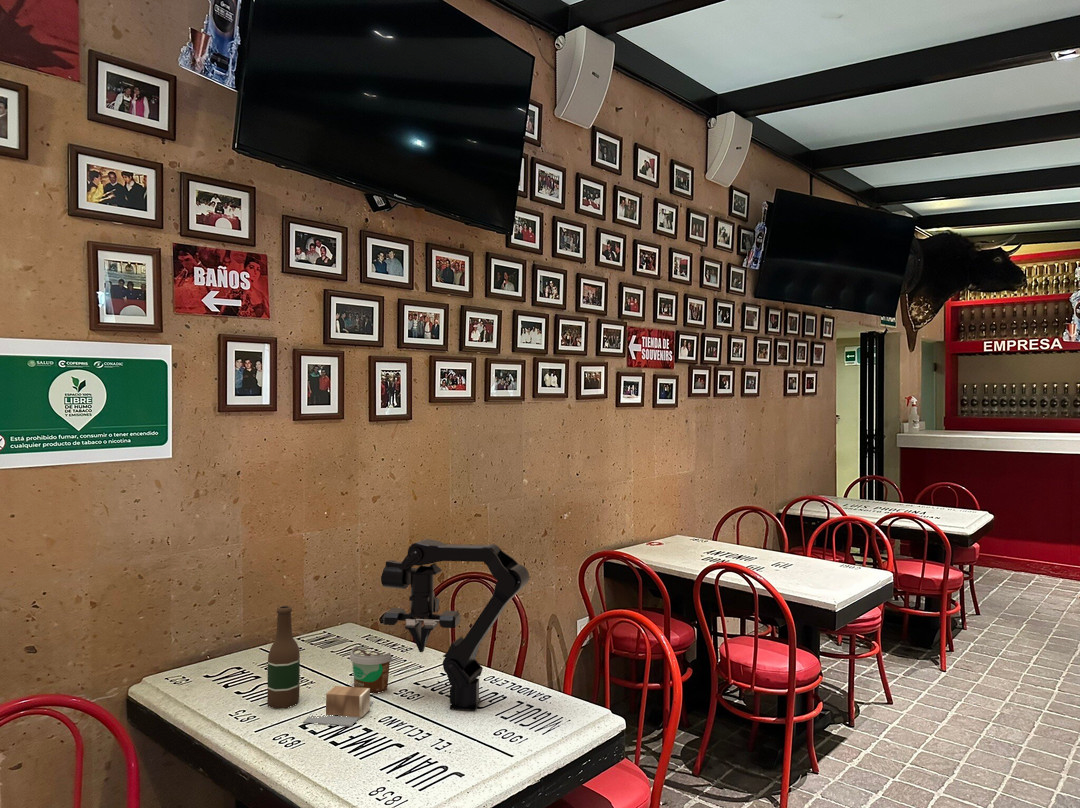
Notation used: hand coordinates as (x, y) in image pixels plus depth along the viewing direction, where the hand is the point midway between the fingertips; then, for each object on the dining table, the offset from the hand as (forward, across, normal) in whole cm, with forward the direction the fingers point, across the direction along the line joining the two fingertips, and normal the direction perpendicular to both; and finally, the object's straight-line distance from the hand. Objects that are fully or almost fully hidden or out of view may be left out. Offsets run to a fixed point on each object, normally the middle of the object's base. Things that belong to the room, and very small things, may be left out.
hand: (421, 651), depth 185 cm
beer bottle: (+12, +33, +8) cm, 36 cm away
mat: (+12, +17, +11) cm, 24 cm away
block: (+9, +10, +11) cm, 18 cm away
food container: (+12, +16, -3) cm, 20 cm away
